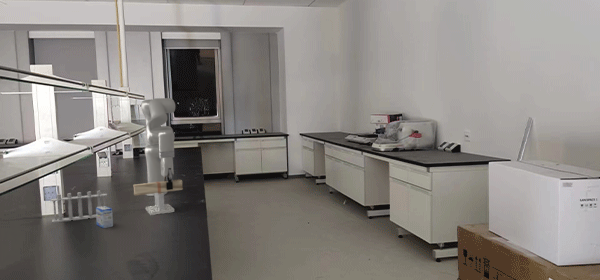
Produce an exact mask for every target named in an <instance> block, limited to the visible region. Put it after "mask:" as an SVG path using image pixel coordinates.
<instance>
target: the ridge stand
mask: <svg viewBox="0 0 600 280" xmlns="http://www.w3.org/2000/svg"><path fill="white" fill-rule="evenodd" d="M154 194H155V196H154V205H149V206H145V210H146V212H147V214H149V215H150V216H155V215H160V214H169V213H174V212H175V208H174V207H173V206H172V205H170V204H169V203H165V195H164V193H162V192H160V193H154Z"/></svg>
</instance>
